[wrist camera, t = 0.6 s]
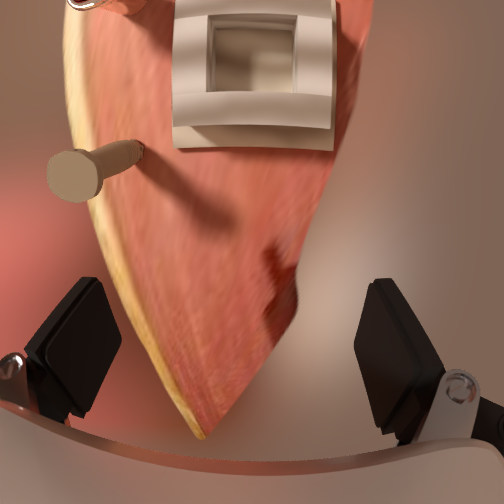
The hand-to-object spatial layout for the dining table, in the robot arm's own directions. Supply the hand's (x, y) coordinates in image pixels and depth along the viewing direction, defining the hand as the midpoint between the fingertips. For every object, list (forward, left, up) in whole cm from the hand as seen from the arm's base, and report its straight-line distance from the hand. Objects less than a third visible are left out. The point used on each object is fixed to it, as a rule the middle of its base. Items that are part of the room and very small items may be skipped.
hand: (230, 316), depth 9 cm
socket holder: (-13, 0, -29) cm, 32 cm away
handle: (-2, -16, -29) cm, 33 cm away
